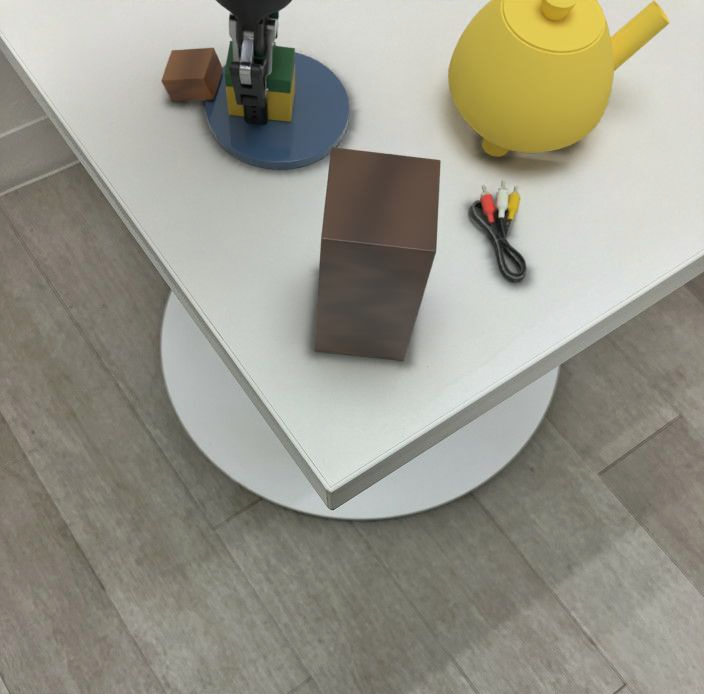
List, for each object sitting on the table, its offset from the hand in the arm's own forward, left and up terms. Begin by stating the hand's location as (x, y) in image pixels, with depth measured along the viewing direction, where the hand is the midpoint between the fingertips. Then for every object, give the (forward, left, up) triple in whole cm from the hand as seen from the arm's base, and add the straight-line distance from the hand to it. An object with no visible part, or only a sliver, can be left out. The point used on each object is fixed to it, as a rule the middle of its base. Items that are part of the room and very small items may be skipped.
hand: (259, 102), depth 77 cm
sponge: (0, 0, 0) cm, 0 cm away
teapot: (+28, +4, -1) cm, 28 cm away
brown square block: (-6, +2, 0) cm, 7 cm away
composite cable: (+24, -12, -1) cm, 27 cm away
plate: (+2, 0, -1) cm, 2 cm away
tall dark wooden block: (+12, -22, -1) cm, 25 cm away
